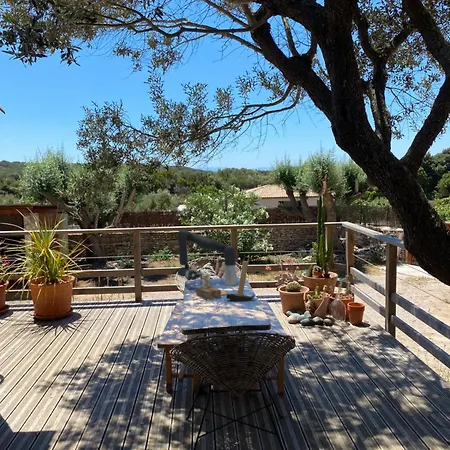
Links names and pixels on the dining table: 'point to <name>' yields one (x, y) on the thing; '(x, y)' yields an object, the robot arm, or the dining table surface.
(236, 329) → the dining table surface
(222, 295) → the terracotta tile
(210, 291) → the walnut toolbox
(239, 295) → the hammer
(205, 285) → the maple key
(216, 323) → the dining table surface
